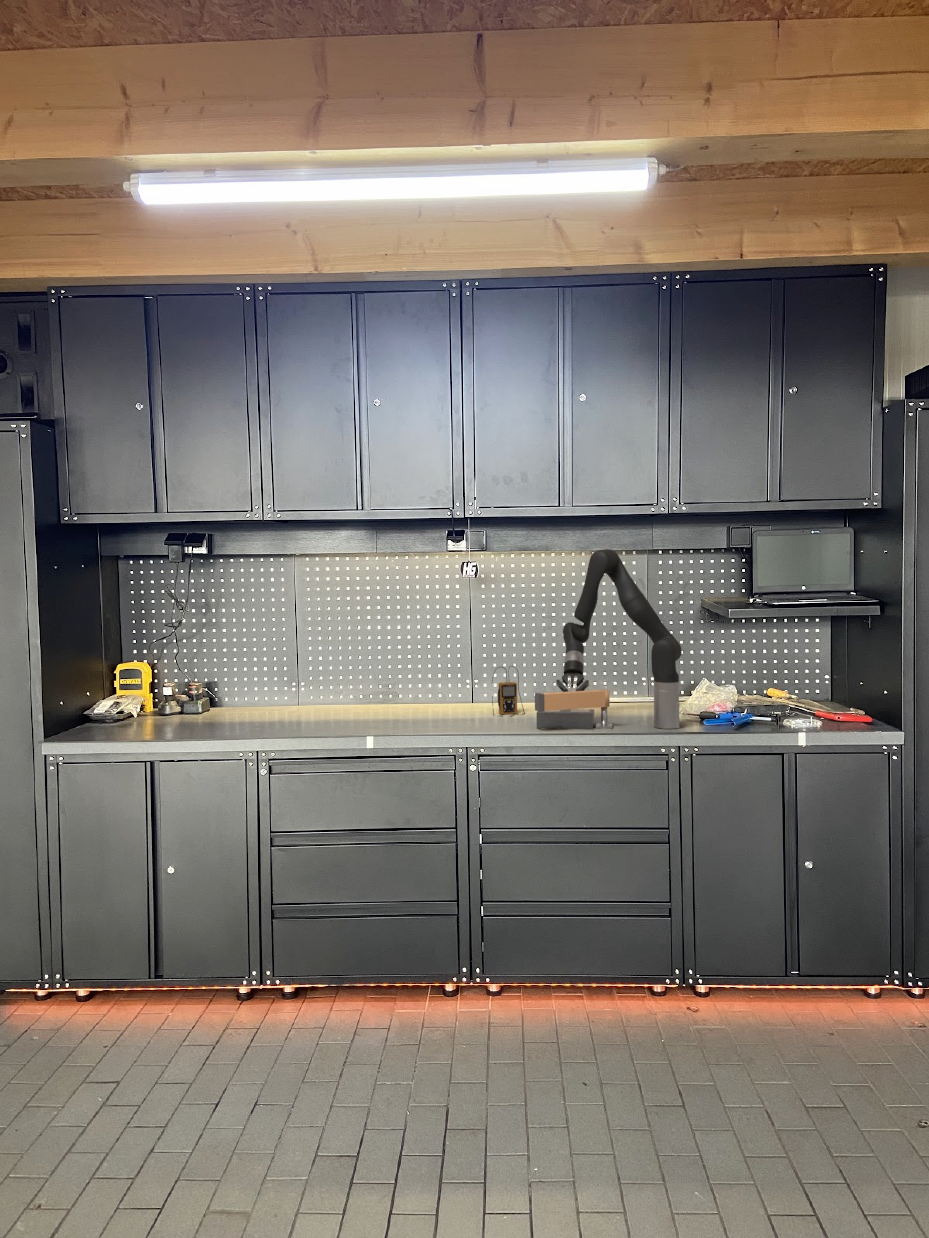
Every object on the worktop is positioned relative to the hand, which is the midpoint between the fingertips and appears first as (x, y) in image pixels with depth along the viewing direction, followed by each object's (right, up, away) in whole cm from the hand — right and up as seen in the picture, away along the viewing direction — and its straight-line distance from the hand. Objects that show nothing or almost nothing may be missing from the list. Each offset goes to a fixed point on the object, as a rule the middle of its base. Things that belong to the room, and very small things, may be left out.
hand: (571, 701), depth 345 cm
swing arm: (0, -2, -3) cm, 4 cm away
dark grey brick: (-2, -10, +4) cm, 11 cm away
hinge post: (+12, -10, +1) cm, 16 cm away
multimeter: (-21, -9, +33) cm, 40 cm away
